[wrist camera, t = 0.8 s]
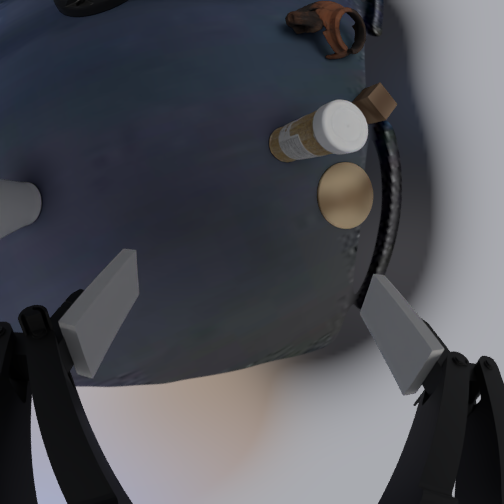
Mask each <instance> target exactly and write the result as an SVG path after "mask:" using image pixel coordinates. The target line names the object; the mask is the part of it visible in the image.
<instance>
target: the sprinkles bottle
mask: <svg viewBox="0 0 504 504" xmlns="http://www.w3.org/2000/svg"><path fill="white" fill-rule="evenodd" d="M367 136H368V126H367V122H366V119H365V117H364V115H363V113H362V112H361V111H360V109H359V108H358V107H357V106H355V105H354V104H353V103H351V102H349V101H346V100H334V101H332V102H329V103H327V104H325V105H323V106H321V107H320V108H319V109H318V110H317V111H315V112H313V113H311V114H308V115H305V116H303V117H301V118H299V119H297V120H295V121H293V122H291V123H288V124H287V125H285V126H284V127H280V128H277V129H276V130H275V131H274V132H273V133H272V134H271V136H270V140H269V147H270V150H271V153H272V154H273V155H274V156H275V157H276V158H277V159H278V160H280V161H283V162H292V161H295V160H301V159H307V158H313V157H319V156H324V155H327V154H333V153H334V154H347V153H352V152H356V151H358V150H359V149H361V148H362V147H363V145H364V144H365V142H366V140H367Z"/></svg>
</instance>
